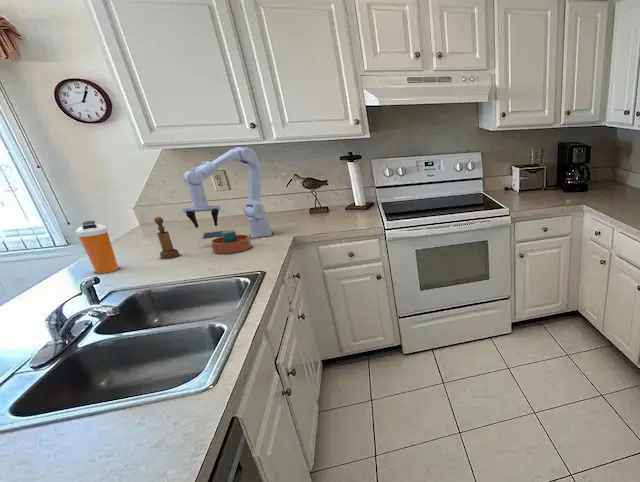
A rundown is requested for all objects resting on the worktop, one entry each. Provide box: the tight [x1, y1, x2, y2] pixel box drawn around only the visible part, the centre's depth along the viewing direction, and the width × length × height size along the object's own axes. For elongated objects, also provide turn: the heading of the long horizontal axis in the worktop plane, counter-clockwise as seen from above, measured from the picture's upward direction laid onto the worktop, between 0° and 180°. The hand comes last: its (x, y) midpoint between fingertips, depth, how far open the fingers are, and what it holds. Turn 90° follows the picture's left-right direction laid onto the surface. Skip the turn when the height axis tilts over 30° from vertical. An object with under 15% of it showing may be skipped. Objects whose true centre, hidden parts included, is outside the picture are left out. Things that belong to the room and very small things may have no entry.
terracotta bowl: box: [210, 234, 252, 254], centre depth 192 cm, size 15×15×5 cm
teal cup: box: [221, 229, 238, 243], centre depth 192 cm, size 5×5×8 cm
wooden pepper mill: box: [153, 216, 180, 260], centre depth 180 cm, size 7×6×18 cm
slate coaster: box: [203, 230, 225, 239], centre depth 217 cm, size 10×10×1 cm
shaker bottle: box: [75, 220, 120, 274], centre depth 164 cm, size 9×9×20 cm
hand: (206, 226), depth 194 cm, fingers open, 7 cm apart
